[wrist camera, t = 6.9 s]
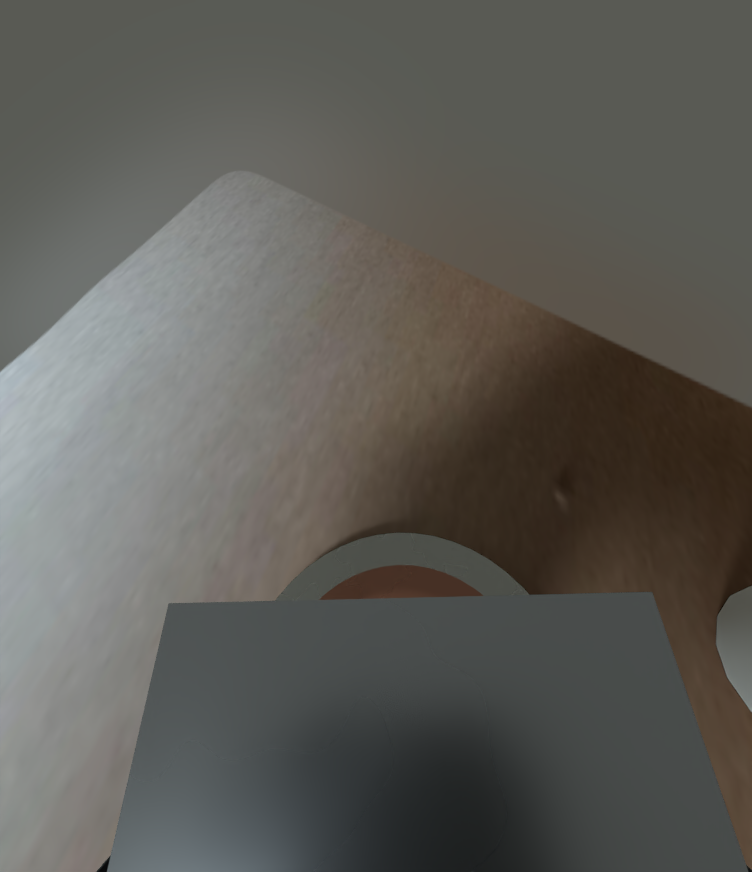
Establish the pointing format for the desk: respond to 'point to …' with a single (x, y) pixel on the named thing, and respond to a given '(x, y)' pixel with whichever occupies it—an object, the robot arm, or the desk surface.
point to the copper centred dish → (400, 571)
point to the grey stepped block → (421, 741)
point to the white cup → (737, 642)
